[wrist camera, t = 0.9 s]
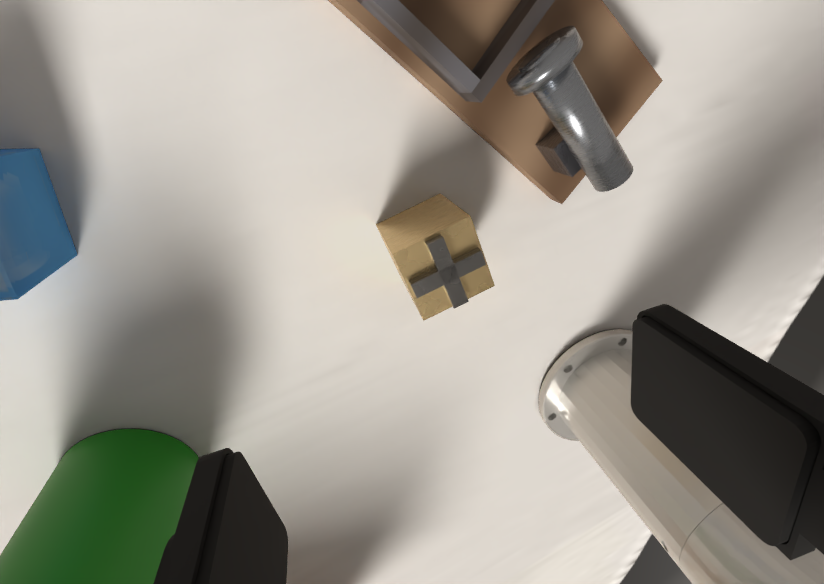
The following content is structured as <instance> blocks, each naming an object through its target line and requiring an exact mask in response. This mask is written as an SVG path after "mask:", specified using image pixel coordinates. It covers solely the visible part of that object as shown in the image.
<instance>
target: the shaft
mask: <svg viewBox="0 0 824 584" xmlns="http://www.w3.org/2000/svg"><path fill="white" fill-rule="evenodd" d="M582 46H583V41H582V39H581V37H580V35H579V34H578V32H577V30H576V28H575V27H574V26H567V27H564V28H561V29H559V30H557V31H556V32H554V33H552V34H551V35H549V36H548V37H546V38H545V39H543V40H542V41H540V42H539V43H538V44H537V45H535V46H534V47H533V48H532V49H531V50H529V51H528V52H527V53H526V54H525V55H524V56H523V57H522V58H521V59H520V60H519V61H518V62H517V63H516V64H515V66H514V67H513V68H512V70H511V71H510V73H509V74H508V76H507V79H506V82H507V83H508V85H509V86H510V88H511V89H512V91H513V92H514V94H515V95H516V96H523V95H527V94H529V93H531V92H533V94H534V95H535V97H536V98H537V100H538V102H539V103H540V105H541V106H542V108H543V109H544V111H545V112H546V114H547V115H548V117H549V119H550V120H551V122H552V123H553V125H554V127H553V128H552V129H551V130H550V131H549V132H548V133H547V134H546V135H545V136H544V137H543V138H542V139H541V140H540V141H539V142H537V143H536V144H535V145H536V147H537V148H538V149H539V151H540V152H541V154H542V155H543V157H544V158H545V160H546V161H547V162H548V164H549V165H550V167H551V168H552V170H553V171H555V172H558V173H561V174H564V175H567V176H570V177H573V176H574V175H575V174H576V173H577V172H578V171H579V170H581V169H582V170H583V171H584V173H585V174H586V176H587V177H588V179H589V180H590V182H591V184H592V185H593V187H594V188H595V190H597V191H600V192H604V191H609V190H612V189H614V188H617V187H618V186H620V185H621V184H623V183H624V182H625V181H626V180H627V179H628V178H629V177H630V176H631V174H632V172H633V166H632V164H631V163H630V161H629V159H628V157H627V156H626V154H625V152H624V150H623V149H622V147H621V145H620V143H619V142H618V140H617V138H616V136H615V135H614V133H613V131H612V129H611V127H610V126H609V124H608V122H607V120H606V119H605V117H604V115H603V113H602V112H601V110H600V108H599V106H598V105H597V103H596V101H595V99H594V97H593V96H592V94H591V92H590V90H589V89H588V87H587V85H586V83H585V82H584V80H583V78H582V76H581V75H580V73H579V71H578V69H577V68H576V66H575V64H574V62H573V60H574V59H575V58H576V56H577V55H578V54H579V52H580V51H581V49H582Z"/></svg>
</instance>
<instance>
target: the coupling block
mask: <svg viewBox="0 0 824 584" xmlns="http://www.w3.org/2000/svg"><path fill="white" fill-rule="evenodd" d="M376 226H377V228H378V230H379V232H380V234H381V236H382V239H383V241H384V243H385V245H386V247H387V249H388V251H389V253H390V255H391V257H392V259H393V262H394V264H395V266H396V268H397V270H398V272H399V274H400V276H401V278H402V280H403V283H404V284H405V286H406V288H407V290H408V292H409V294H410V296H411V298H412V300H413V301H414V303H415V305H416V307H417V309H418V311H419V313H420V315H421V317H422V318H423V320H426V319H428V318H430V317H432V316H434V315H436V314H438V313H440V312H442V311H444V310H446V309H448V308H450V307H452V306H453V308H456V307H458V306H460V305H462V304H464V303H466V302H468V299H469V298H471V297H473V296H475V295H477V294H479V293H481V292H483V291H485V290H487V289H489V288H491V287H493V286H495V285H494V282H493V280H492V277H491V274H490V271H489V268H488V265H487V262H486V259H485V257H484V254H483V251H482V248H481V245H480V242H479V239H478V236H477V234H476V231H475V228H474V225H473V222H472V219H471V216H470V215H468V214H467V213H466V212H464V211H463V210H462V209H460V208H459V207H458V206H456V205H455V204H454V203H452V202H451V201H450V200H448V199H447V198H446V197H444V196H443V195H442V194H438V195H436V196H434V197H432V198H430V199H428V200H426V201H424V202H422V203H420V204H417V205H415V206H413V207H411V208H409V209H407V210H405V211H403V212H401V213H399V214H397V215H395V216H393V217H390V218H388V219H386V220H384V221H382V222H380V223H378V224H376Z"/></svg>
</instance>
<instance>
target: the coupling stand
mask: <svg viewBox="0 0 824 584" xmlns="http://www.w3.org/2000/svg"><path fill="white" fill-rule="evenodd" d="M328 1H329V2H331V3H332V4H333V5H334V6H335V7H336V8H337V9H338V10H340V11H341V12H342V13H343V14H344V15H345V16H346V17H347V18H349V19H350V20H351V21H352V22H353V23H354V24H355V25H356V26H357V27H359V28H360V29H361V30H362V31H363V32H364V33H365V34H366V35H368V36H369V37H370V38H371V39H372V40H373V41H374V42H375V43H377V44H378V45H379V46H380V47H381V48H382V49H383V50H384V51H386V52H387V53H388V54H389V55H390V56H391V57H392V58H393V59H394V60H396V61H397V62H398V63H399V64H400V65H401V66H402V67H403V68H405V69H406V70H407V71H408V72H409V73H410V74H411V75H412V76H414V77H415V78H416V79H417V80H418V81H419V82H420V83H421V84H423V85H424V86H425V87H426V88H427V89H428V90H429V91H430V92H431V93H433V94H434V95H435V96H436V97H437V98H438V99H439V100H440V101H442V102H443V103H444V104H445V105H446V106H447V107H448V108H449V109H451V110H452V111H453V112H454V113H455V114H456V115H457V116H458V117H460V118H461V119H462V120H463V121H464V122H465V123H466V124H467V125H468V126H470V127H471V128H472V129H473V130H474V131H475V132H476V133H477V134H479V135H480V136H481V137H482V138H483V139H484V140H485V141H486V142H488V143H489V144H490V145H491V146H492V147H493V148H494V149H495V150H497V151H498V152H499V153H500V154H501V155H502V156H503V157H504V158H505V159H507V160H508V161H509V162H510V163H511V164H512V165H513V166H514V167H516V168H517V169H518V170H519V171H520V172H521V173H522V174H523V175H525V176H526V177H527V178H528V179H529V180H530V181H531V182H532V183H534V184H535V185H536V186H537V187H538V188H539V189H540V190H541V191H542V192H544V193H545V194H546V195H547V196H548V197H549V198H550V199H552V200H554V201H556V202H559V203H561V204H562V203H563V202H564V201H565V200H566V198H567V197H568V196H569V195H570V194H571V192H572V191H573V190H574V189H575V187H576V186H577V185H578V184H579V183H580V181H581V180H582V179H583V178H584V176H585V175H586V174H585V173H584V171H583V170H582V169H581V170H579V171H578V172H577V173H576V174H575V175H574V176H573V177H570V176H567V175H564V174H561V173H558V172H555V171H553V170H552V168H551V167H550V165H549V164H548V162H547V161H546V160H545V158H544V157H543V155H542V154H541V152H540V151H539V149H538V148H537V147H536V145H535V144H536V143H537V142H539V141H540V140H541V139H542V138H543V137H544V136H545V135H546V134H547V133H548V132H549V131H550V130H551V129H552V128H553V127H554V125H553V123H552V122H551V120H550V119H549V117H548V115H547V114H546V112H545V111H544V109H543V108H542V106H541V105H540V103H539V102H538V100H537V98H536V97H535V95H534V94H533V92H531V93H529V94H527V95H523V96H516V95H515V94H514V92H513V91H512V89H511V88H510V86H509V85H508V83H507V82H506V79H507V76H508V74H509V73H510V71H511V70H512V68H513V67H514V66H515V64H516V63H517V62H518V61H519V60H520V59H521V58H522V57H523V56H524V55H525V54H526V53H527V52H528V51H529V50H531V49H532V48H533V47H534V46H535V45H537V44H538V43H539V42H540V41H542V40H543V39H545V38H546V37H548V36H549V35H551V34H552V33H554V32H556V31H557V30H559V29H561V28H564V27H567V26H574V27H575V28H576V30H577V32H578V34H579V35H580V37H581V39H582V41H583V46H582V49H581V51H580V52H579V54H578V55H577V56H576V58H575V59H574V60H573V62H574V64H575V66H576V68H577V69H578V71H579V73H580V75H581V76H582V78H583V80H584V82H585V83H586V85H587V87H588V89H589V90H590V92H591V94H592V96H593V97H594V99H595V101H596V103H597V105H598V106H599V108H600V110H601V112H602V113H603V115H604V117H605V119H606V120H607V122H608V124H609V126H610V127H611V129H612V131H613V133H614V135H615V136H616V137H617V136H618V135H619V133H620V132H621V131H622V130H623V128H624V127H625V126H626V125H627V124H628V122H629V121H630V120H631V119H632V117H633V116H634V115H635V114H636V113H637V111H638V110H639V109H640V108H641V106H642V105H643V104H644V103H645V101H646V100H647V99H648V98H649V97H650V95H651V94H652V93H653V92H654V90H655V89H656V88H657V87H658V86H659V84H660V83H661V82H662V81H663V80H662V79H661V78H660V76H659V75H658V74H657V72H656V71H655V70H654V69H653V67H652V66H651V65H650V63H649V62H648V61H647V59H646V58H645V57H644V55H643V54H642V53H641V51H640V50H639V49H638V47H637V46H636V45H635V43H634V42H633V41H632V39H631V38H630V37H629V35H628V34H627V33H626V31H625V30H624V29H623V27H622V26H621V25H620V23H619V22H618V21H617V20H616V18H615V17H614V16H613V14H612V13H611V12H610V10H609V9H608V8H607V6H606V5H605V4H604V2H603V1H602V0H328Z"/></svg>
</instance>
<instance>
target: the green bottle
mask: <svg viewBox="0 0 824 584" xmlns="http://www.w3.org/2000/svg"><path fill="white" fill-rule="evenodd" d="M198 459H199V458H198V456H197V455H196V453H195V452H194V451H193V450H192V449H191V448H190V447H188V446H187V445H186V444H184V443H183V442H181V441H179V440H177V439H175V438H173V437H171V436H168V435H166V434H163V433H159V432H155V431H150V430H142V429H119V430H112V431H107V432H102V433H99V434H96V435H93V436H90V437H88V438H86V439H84V440H82V441H80V442H78V443H77V444H75V445H74V446H73V447H72V448H70V449H69V450H68V451H67V452H66V453H65V455H64V456H63V457H62V459H61V460H60V462H59V463H58V465H57V467H56V468H55V470H54V471H53V473H52V475H51V476H50V478H49V479H48V481H47V482H46V484H45V486H44V487H43V489H42V490H41V492H40V493H39V495H38V497H37V498H36V500H35V501H34V503H33V505H32V506H31V508H30V509H29V511H28V512H27V514H26V516H25V517H24V519H23V520H22V522H21V523H20V525H19V527H18V528H17V530H16V531H15V533H14V535H13V536H12V538H11V539H10V541H9V542H8V544H7V546H6V547H5V549H4V550H3V552H2V553H1V555H0V584H153V583H154V580H155V577H156V574H157V571H158V568H159V564H160V561H161V558H162V555H163V552H164V549H165V547H166V544H167V542H168V540H169V539H170V538H171V537H172V536H173V535H174V534H175V532H176V528H177V525H178V522H179V518H180V515H181V512H182V509H183V505H184V502H185V499H186V496H187V492H188V489H189V486H190V482H191V479H192V476H193V473H194V469H195V466H196V463H197V461H198Z"/></svg>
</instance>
